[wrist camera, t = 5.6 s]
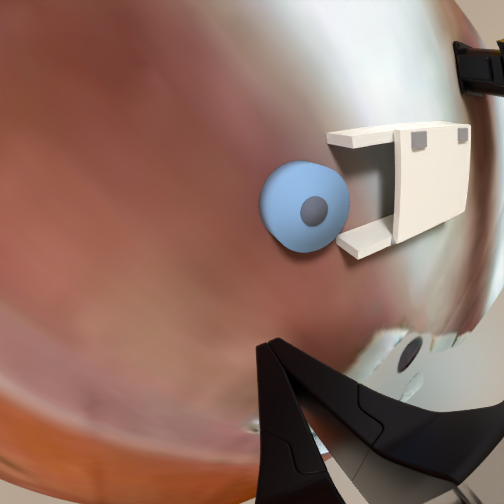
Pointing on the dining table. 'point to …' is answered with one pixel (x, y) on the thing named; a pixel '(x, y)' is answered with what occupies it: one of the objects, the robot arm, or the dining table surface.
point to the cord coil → (304, 205)
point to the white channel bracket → (381, 231)
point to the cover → (429, 176)
